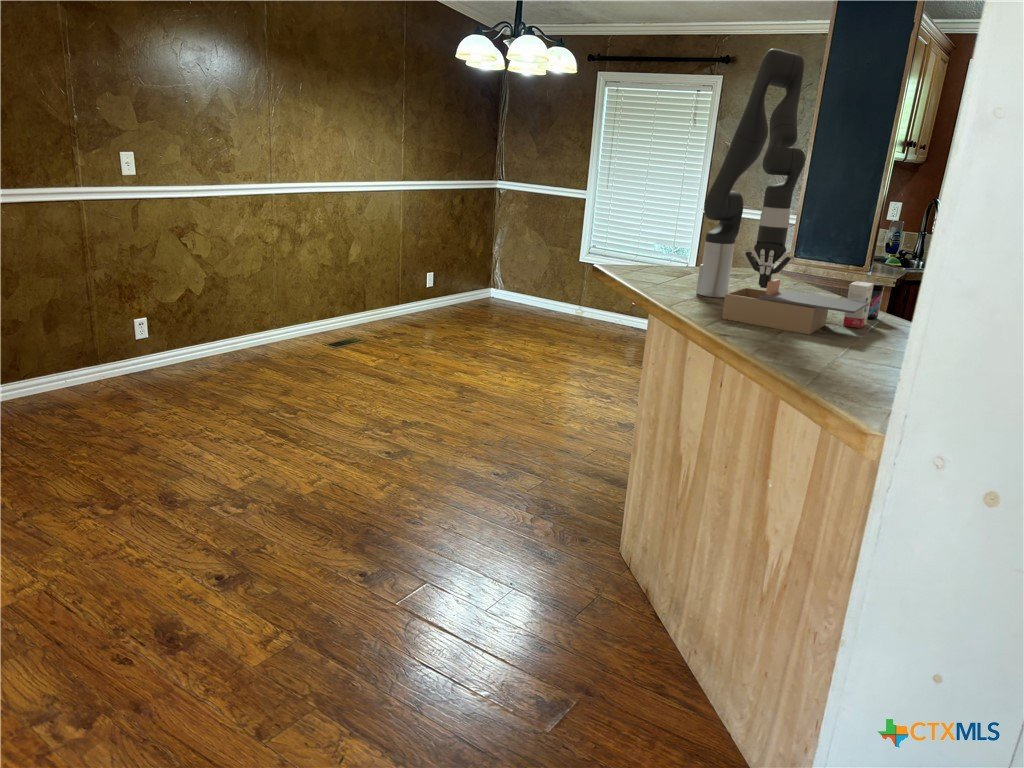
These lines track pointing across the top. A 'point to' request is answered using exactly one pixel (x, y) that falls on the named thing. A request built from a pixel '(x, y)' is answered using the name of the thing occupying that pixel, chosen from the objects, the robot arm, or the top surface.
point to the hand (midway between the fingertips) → (763, 287)
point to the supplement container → (875, 299)
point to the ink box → (858, 293)
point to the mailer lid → (810, 299)
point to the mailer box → (772, 312)
